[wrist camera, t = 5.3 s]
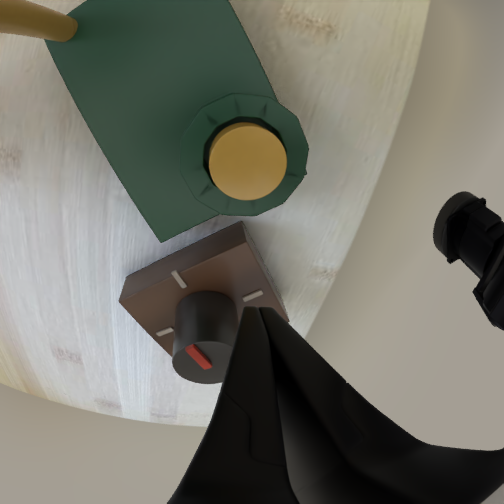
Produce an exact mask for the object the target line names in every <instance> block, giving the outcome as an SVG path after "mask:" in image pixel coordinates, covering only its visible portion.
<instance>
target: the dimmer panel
mask: <svg viewBox="0 0 504 504" xmlns="http://www.w3.org/2000/svg"><path fill="white" fill-rule="evenodd" d="M201 291H212V292H217V293H220V294H223V295H225V296H226V297H228V298H229V299H230V300H231V301H232V302H233V303H234V304H235V306H236V308H237V313H238V320H239V322H240V319H241V315H242V312H243V308H244V307H245V306H256V307H258V308H259V307H272V308H274V309H275V310H276V311H277V312H278V313H279V314H280V315H281V316H282V317H283V318H284V319H285V320H286V321H287V322H289V318H288V315H287V312H286V309H285V306H284V303H283V300H282V297H281V295H280V293H279V291H278V289H277V288H276V286H275V284H274V282H273V280H272V278H271V276H270V274H269V272H268V270H267V268H266V266H265V264H264V262H263V260H262V258H261V257H260V255H259V253H258V251H257V249H256V247H255V245H254V243H253V241H252V239H251V237H250V235H249V233H248V231H247V230H246V228H245V226H244V224H243V222H242V221H240V222H238V223H236V224H234V225H231V226H229V227H227V228H225V229H223V230H221V231H219V232H217V233H214V234H212V235H210V236H208V237H206V238H204V239H202V240H200V241H198V242H196V243H194V244H191V245H189V246H187V247H185V248H183V249H181V250H179V251H177V252H175V253H173V254H171V255H169V256H167V257H165V258H163V259H161V260H159V261H157V262H155V263H153V264H151V265H149V266H147V267H145V268H143V269H141V270H139V271H137V272H135V273H133V274H131V275H129V276H127V277H126V280H125V283H124V286H123V289H122V292H121V295H120V298H119V303H120V304H121V305H122V306H123V307H124V308H125V309H126V310H127V311H128V313H129V314H130V315H131V316H132V317H133V318H134V319H135V320H136V321H137V322H138V323H139V324H140V325H141V326H142V328H143V329H144V330H145V331H146V332H147V333H148V334H149V335H150V336H151V337H152V338H153V339H154V340H155V341H156V342H157V343H158V344H159V345H160V346H161V347H162V348H163V349H164V350H165V351H166V352H167V353H168V354H169V355H170V356H171V357H173V340H174V326H175V313H176V308H177V306H178V304H179V303H180V302H181V300H182V299H184V298H185V297H186V296H188V295H190V294H193V293H196V292H201Z"/></svg>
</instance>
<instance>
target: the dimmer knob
mask: <svg viewBox="0 0 504 504" xmlns="http://www.w3.org/2000/svg"><path fill="white" fill-rule="evenodd" d="M238 326H239V320H238V313H237V308H236V306H235V304H234V303H233V302H232V301H231V300H230V299H229V298H228V297H226V296H225V295H223V294H220V293H217V292H212V291H201V292H196V293H193V294H190V295H188V296H186V297H185V298H184V299H182V300H181V302H180V303H179V304H178V306H177V308H176V313H175V326H174V340H173V357H172V364H173V367H174V369H175V371H176V372H177V373H178V374H179V375H180V376H181V377H183V378H184V379H187V380H189V381H192V382H195V383H201V384H215V383H221V382H223V379H224V376H225V372H226V369H227V365H228V362H229V358H230V355H231V351H232V347H233V344H234V340H235V337H236V333H237V330H238Z"/></svg>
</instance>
